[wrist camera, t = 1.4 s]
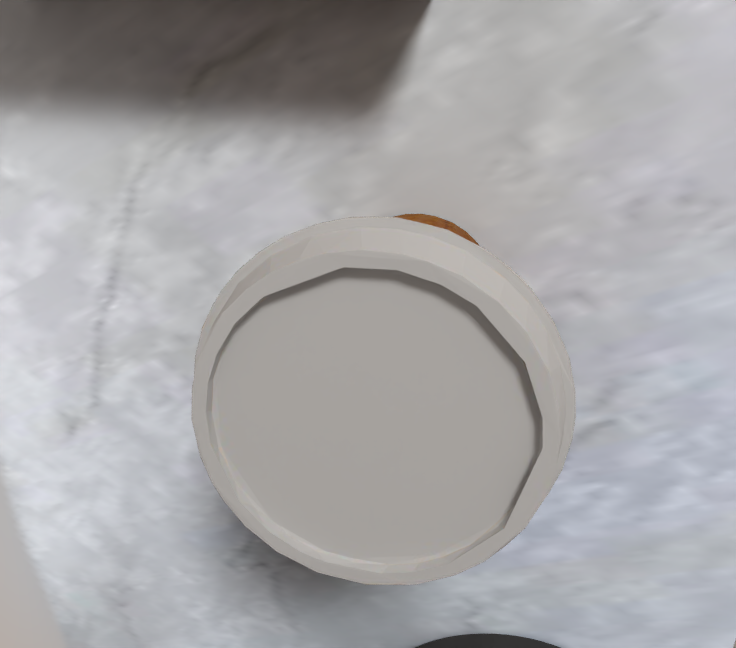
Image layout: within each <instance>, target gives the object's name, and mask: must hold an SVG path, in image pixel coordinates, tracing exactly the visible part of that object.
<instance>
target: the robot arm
mask: <svg viewBox="0 0 736 648" xmlns="http://www.w3.org/2000/svg"><path fill="white" fill-rule="evenodd" d="M416 648H560V647H557V646H555V645H551V644H548V643H545V642H542V641H538V640H534V639H529V638H524V637H519V636H511V635H501V634H469V635H460V636H454V637H448V638H444V639H439V640H436V641H432V642H429V643H426V644H424V645H421V646H418V647H416ZM733 648H736V640H735V644H734V647H733Z"/></svg>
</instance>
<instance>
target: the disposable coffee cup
mask: <svg viewBox="0 0 736 648" xmlns="http://www.w3.org/2000/svg"><path fill="white" fill-rule="evenodd" d="M575 418H576V409H575V387H574V381H573V376H572V370H571V364H570V358H569V356H568V353H567V351H566V349H565V346H564V344H563V342H562V339H561V337H560V335H559V332H558V330H557V328H556V325H555V323H554V321H553V320H552V318H551V317H550V315H549V314H548V312H547V311H546V309H545V308H544V306H543V305H542V304H541V302H540V301H539V299H538V298H537V296H536V295H535V293H534V292H533V291H532V289H531V288H530V287H529V286H528V285H527V284H526V283H525V281H524V280H523V279H522V278H521V277H520V276H519V275H518V274H517V273H515V272H514V271H513V270H512V269H510V268H509V267H508V266H507V265H505V264H504V263H503V262H502V261H500V260H499V259H498V258H497V257H495V256H494V255H493V254H491V253H490V252H488V251H487V250H486V249H484V248H482V247H480V246H479V245H478V243H477V242H476V241H475V240H474V239H473V238H472V237H471V236H470V235H469V234H468V233H467V232H466V231H464V230H463V229H461V228H460V227H458V226H457V225H455V224H454V223H452V222H449V221H447V220H444V219H441V218H438V217H435V216H431V215H425V214H405V215H400V216H395V217H351V218H344V219H338V220H333V221H328V222H323V223H319V224H316V225H313V226H310V227H308V228H305V229H303V230H300V231H297V232H295V233H292V234H290V235H287V236H284V237H283V238H281V239H279V240H278V241H276V242H274V243H273V244H271V245H270V246H268V247H266V248H265V249H263V250H262V251H260V252H259V253H258V254H257V255H255V256H254V257H253V258H252V259H251V260H249V261H248V262H247V263H246V264H245V265H243V266H242V267H241V268H240V269H239V270H238V271H237V272H236V273H235V275H234V276H233V277H232V278H231V280H230V281H229V282H228V283H227V284H226V286H225V287H224V288H223V289H222V291H221V292H220V294H219V296H218V297H217V299H216V300H215V302H214V303H213V305H212V308H211V310H210V312H209V314H208V316H207V318H206V321H205V323H204V325H203V327H202V331H201V335H200V339H199V343H198V347H197V351H196V355H195V368H194V381H193V386H192V422H193V427H194V431H195V436H196V440H197V444H198V449H199V453H200V456H201V459H202V461H203V463H204V466H205V468H206V470H207V473H208V475H209V477H210V480H211V481H212V483H213V485H214V486H215V488H216V489H217V491H218V493H219V494H220V496H221V497H222V499H223V501H224V502H225V503H226V504H227V505H228V507H229V508H230V509H231V510H232V511H233V513H234V514H235V515H236V516H237V517H238V518H239V520H240V521H241V522H242V523H243V524H244V526H245V527H247V528H248V529H249V530H250V531H252V532H253V533H254V534H255V535H257V536H258V537H259V538H260V539H262V540H263V541H264V542H265V543H267V544H268V545H269V546H270V547H271V548H273V549H274V550H275V551H276V552H278V553H280V554H282V555H284V556H286V557H288V558H290V559H292V560H294V561H296V562H298V563H300V564H302V565H304V566H306V567H308V568H310V569H312V570H314V571H316V572H317V573H321V574H325V575H329V576H334V577H338V578H342V579H346V580H350V581H354V582H358V583H362V584H366V585H416V584H420V583H425V582H429V581H433V580H437V579H441V578H445V577H450V576H454V575H456V574H459V573H461V572H463V571H465V570H467V569H469V568H472V567H474V566H476V565H478V564H480V563H482V562H484V561H486V560H487V559H488V558H490V557H491V556H492V555H494V554H495V553H496V552H498V551H499V550H500V549H502V548H503V547H504V546H506V545H507V544H508V543H509V542H510V541H511V540H513V539H514V538H515V537H516V536H517V535H518V534H519V533H520V532H521V531H522V530H523V529H525V527H526V526H527V524H528V523H529V521H530V520H531V518H532V517H533V515H534V514H535V512H536V511H537V509H538V508H539V506H540V505H541V503H542V502H543V500H544V499H545V497H546V496H547V495H548V493H549V492H550V490H551V488H552V487H553V485H554V483H555V481H556V480H557V478H558V476H559V474H560V473H561V471H562V469H563V465H564V462H565V459H566V456H567V453H568V450H569V447H570V444H571V441H572V437H573V430H574V424H575Z"/></svg>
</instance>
